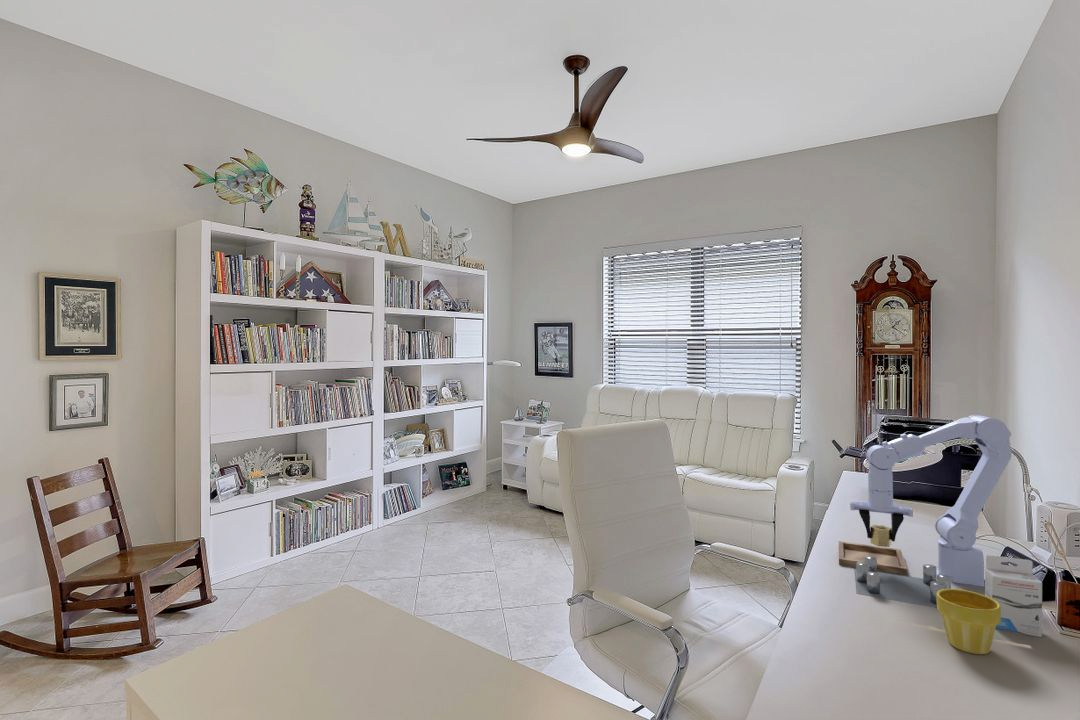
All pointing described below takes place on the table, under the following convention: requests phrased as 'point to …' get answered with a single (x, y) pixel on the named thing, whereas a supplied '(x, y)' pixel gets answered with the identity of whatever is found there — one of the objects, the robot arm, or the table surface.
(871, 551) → the tray
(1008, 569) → the ink box
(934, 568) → the spacers
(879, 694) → the table surface
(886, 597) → the mat
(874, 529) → the nut
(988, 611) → the plant pot
